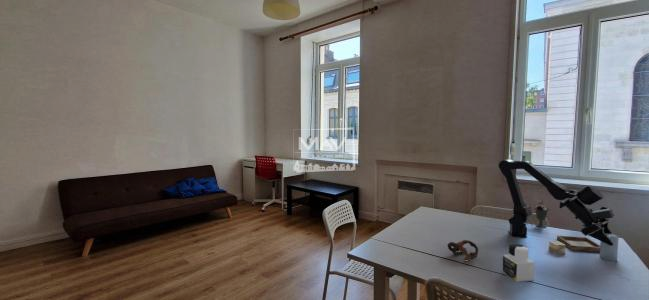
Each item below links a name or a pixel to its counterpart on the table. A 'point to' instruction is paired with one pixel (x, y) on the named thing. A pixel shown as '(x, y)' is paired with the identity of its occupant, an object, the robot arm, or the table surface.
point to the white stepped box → (518, 263)
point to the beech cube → (557, 247)
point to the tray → (579, 243)
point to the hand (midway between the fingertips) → (613, 243)
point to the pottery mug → (463, 249)
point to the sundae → (541, 214)
